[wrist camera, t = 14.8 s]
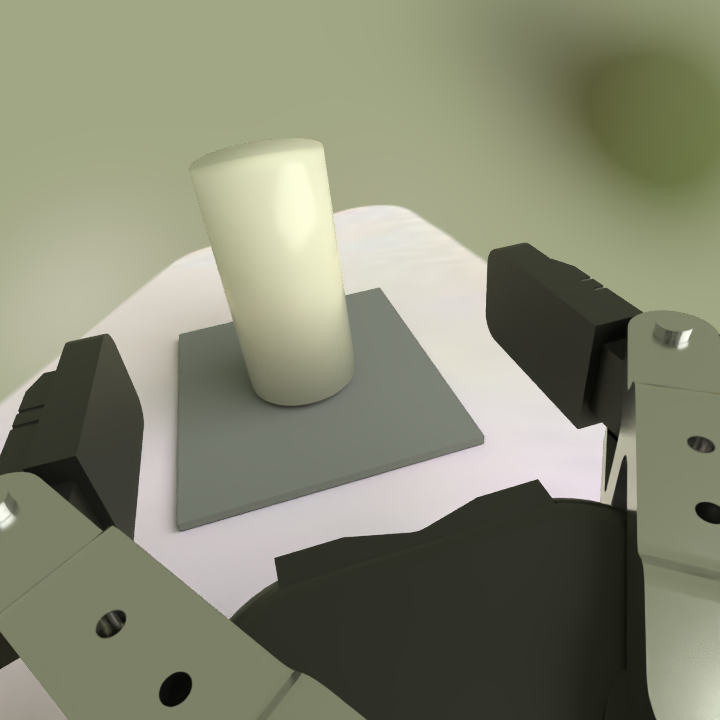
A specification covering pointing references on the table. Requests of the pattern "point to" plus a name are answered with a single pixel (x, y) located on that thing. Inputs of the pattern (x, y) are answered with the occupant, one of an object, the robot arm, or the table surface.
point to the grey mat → (308, 419)
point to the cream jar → (279, 265)
